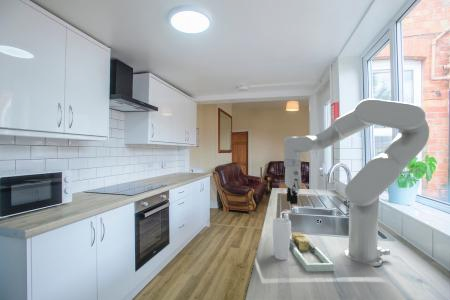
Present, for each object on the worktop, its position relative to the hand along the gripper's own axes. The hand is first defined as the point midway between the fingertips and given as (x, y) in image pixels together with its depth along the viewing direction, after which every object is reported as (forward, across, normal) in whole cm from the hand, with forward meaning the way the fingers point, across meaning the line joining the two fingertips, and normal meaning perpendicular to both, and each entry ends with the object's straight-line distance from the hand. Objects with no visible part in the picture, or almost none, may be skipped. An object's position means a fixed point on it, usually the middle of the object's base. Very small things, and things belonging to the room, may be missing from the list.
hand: (291, 202), depth 106 cm
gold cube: (+16, -8, 0) cm, 18 cm away
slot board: (+17, -10, 0) cm, 20 cm away
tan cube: (+16, -13, 0) cm, 21 cm away
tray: (+17, -22, 0) cm, 28 cm away
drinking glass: (+18, -19, +10) cm, 28 cm away
